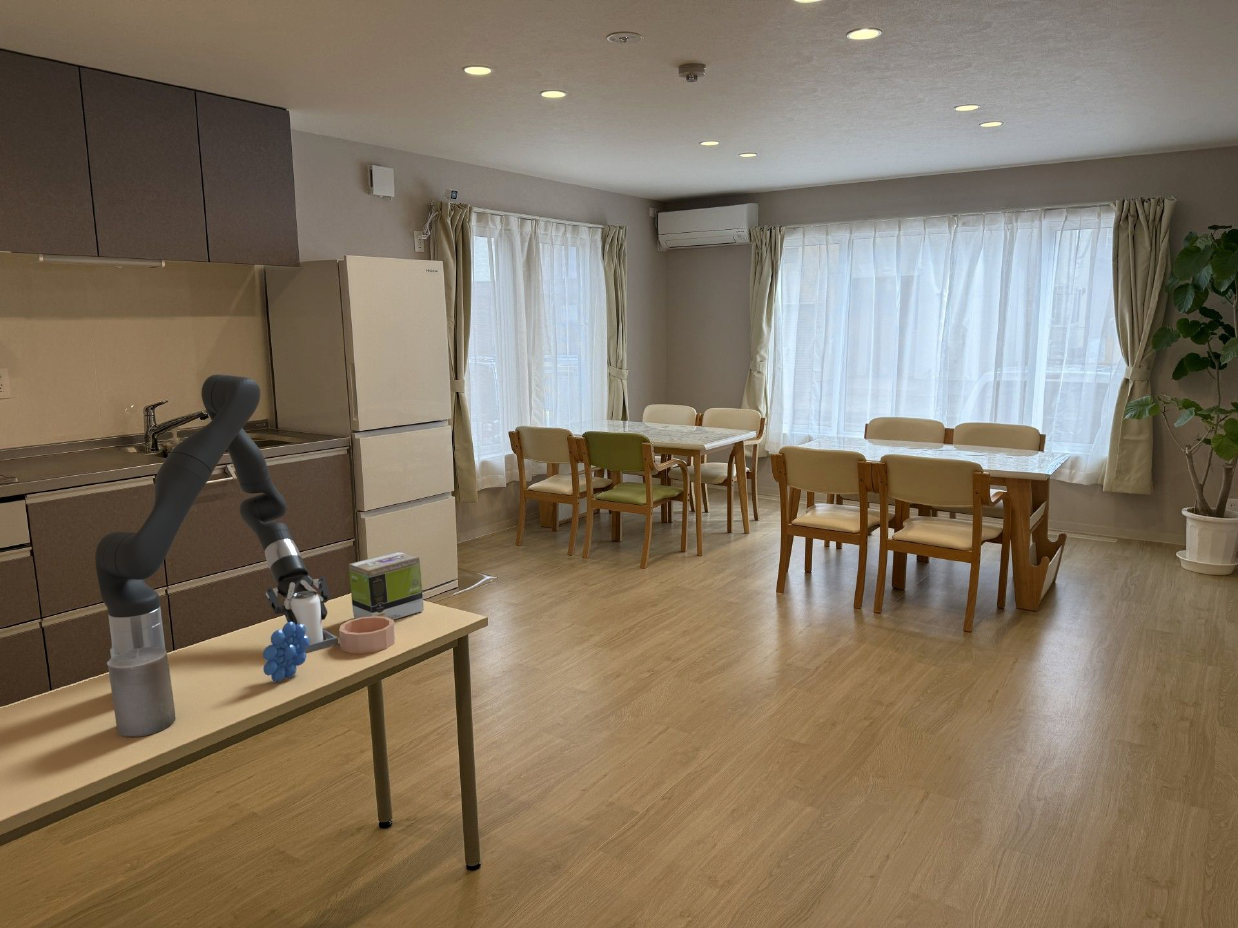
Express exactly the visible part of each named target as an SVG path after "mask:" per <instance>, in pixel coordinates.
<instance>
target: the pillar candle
mask: <svg viewBox="0 0 1238 928" xmlns="http://www.w3.org/2000/svg"><path fill="white" fill-rule="evenodd" d="M106 665H107V667H108V676H109V683H110V690H111V697H112V704H113V705H112V706H113V710H114V718H115V724H116V731H117V734H118V736H121V737H124V738H125V737H126V738H127V737H128V738H129V737H136V738H137V737H140V738H141V737H147V736H149V735H150V736H151V735H153V734H156V733H159V732H162V731H164V730H166V729H167V728H169V727H170V726H172V724H173V723H175V721H176V711H175V703H174V693H173V687H172V679H171V674H170V673H171V672H170V665H169V658H168V652H167V649H166V648H165V649H164V648H161V647H144V648H137V649H133V650H129V651H126V652H123V653H120V654H118V655H116V656H114V657H113V658H111V657H110V659H109V660H108V661H107V662H106Z"/></svg>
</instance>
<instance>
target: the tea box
mask: <svg viewBox="0 0 1238 928" xmlns="http://www.w3.org/2000/svg"><path fill="white" fill-rule="evenodd" d="M420 561H421V560H420V557H419V556H414V555H412V554H411V555H410V554H408V553H404V552H401V551H395V552H392V553H388V554H383V555H380V556H377V557H372V558H368V559H364V560H360V561H356V562H355V561H354V562H352V563H349V564H348V574H349V583H350V584H349V585H350V594H351V596H350V597H351V604H352V605H351V606H352V607H351V608H352V614H353V619H357V618H361V617H370V616H381V617H388V618H390V619H392V620H394V621H395V620H397V619H401V618H404V617H407V616H410V615H414V614H417V613H421V612H423V611H425V609H424V607H425V606H424V598H423V586H422V584H423V583H422V572H421V562H420Z"/></svg>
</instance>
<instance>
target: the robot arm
mask: <svg viewBox="0 0 1238 928" xmlns="http://www.w3.org/2000/svg"><path fill="white" fill-rule="evenodd" d="M200 394H201V399H202V401H201V402H202V404H203V406H204V409H205V411H206V412H207V414H208V416H209V418H210V420H211V421H210V422H208V423H207V424H206V425H205V426H203V427H202V428H200V429H199V430H197V431H195V432H194V433H192V434H190V435H189V436H188V437H186V438H185V439H183V440H181V441H180V442H179V443H177V445H175V447H173V448H172V449H171V451H170V452H169V454H168V455H167V457H166V458H165V460H164V462H163V463H162V465H161V466H160V467H159V469H158V471H157V474H156V477H155V480H154V501H153V502H154V503H153V507H152V509H151V512H150V513H149V515H148V516H147V518H146V520H145V521H144V523H143V524H142V526H141V527H140V528H139V529H138V530H137V532H132V531H129V532H128V531H113V532H110V533H107V534H106V535H105V536H103V537H102V538H101V539H100V541H99V542H98V544H97V547H96V549H95V555H94V563H95V570H96V571H95V572H96V577H97V581H98V587H99V591H100V597H101V599H102V601H103V602H102V603H104V605H105V606H106V609H107V615H108V622H109V623H108V624H109V631H110V638H111V648H110V650H109V652H110V659H111V658H113V657H114V656H116V655H118V654H120V653H123V652H126V651H129V650H133V649H137V648H144V647H161V648H164V649H165V650H166V644H165V637H164V636H165V635H164V626H163V620H162V610H161V608H162V607H161V599H160V595H159V593H158V592H157V591H156V590H155V589H153V588H151V587H150V586H149V585H148V584H147V583H146V582H145V580H146V579H148V578H150V577H152V576H153V575H155V573H156V572H158V570H159V569H160V568H161V566H162V564H163V563H164V561H165V559H166V557H167V555H168V552H169V551H170V549H171V547H172V544H173V542H174V540H175V538H176V536H177V533H178V531H179V530H180V527H181V525H182V524H183V523H184V520H185V519H186V517H187V515H188V513H189V512H190V510H191V508H192V506H193V505H194V503H195V501H196V499H197V498H198V497H199V495H200V494H201V492H202V490H203V489H204V487H205V486H206V484H207V483H208V481H209V480H210V478H211V476H212V474H213V473H214V471H215V468H216V467H217V465H218V464H219V462H220V460H221V459H222V457H223V456H224V455H225V453H226V451H228V454H229V456H230V457H229V458H231V462H232V464H233V468H234V471H235V475H236V477H237V480H238V483H239V487H240V489H241V491H242V492H244V493H246V494H258V495H255V496H252V497H248V498H246V499H244V500H242V501H241V503H240V505H239V514H240V517H241V518H242V520H243V521H244V522H245V524H246V525H248V527H249V528H250V529H251V530H252V531H253V533H254V534H255V535H256V537H257V538H258V540H259V542H260V545H261V548H262V550H263V552H264V554H265V559H266V563H267V567H268V569H269V570H270V573H271V574H272V575H271V576H272V577H273V581H274V583H275V585H276V587H274V588H272V587H268V588H267V590H266V591H265V595H264V596H265V598H266V600H267V602H268V603H269V605H270V607H271V609H272V611H273V613H274V614H275V615H279V614H282V615H284V617H285V619H286V623H287V622H291V621H292V622H294V623H295V625H297V620H296V617H295V615H294V613H293V611H292V609H291V600H292V595H293V594H295V593H298V592H303V591H315V592H317V595H318V597H319V599H320V607H321V619H322V621H324V620H325V619H326V617H327V616H328V609H327V607H326V605H325V603H327V602H328V600H329V598H330V596H331V595H330V592H329V589H328V588H329V587H328V585H327V581H326V578H325V577H324V575H323V576H320V577H319V578H315V579H314V578H312V577H311V576H310V575H309V572H308V569H307V567H306V564H305V562H304V560H303V557H302V555H301V553H300V551H299V550H300V549H299V548H298V546H297V545H296V543H295V542H294V539H293V536H292V534H291V532H290V529H289V528H288V525H286V524H285V523H284V522H279V521H277V522H276V521H275V520H278V519H280V518H283V517H284V516H285V515H286V513H287V509H288V506H287V503H286V500H285V498H284V497H283V495H282V494H281V493H280V491H279V490H278V489H277V487H276V486H275V484H274V483H273V480H272V478H271V475H270V472H269V469H268V466H267V465H268V464H267V462H266V459H265V456H264V455H263V453H262V450H260V448H259V447H258V445H257V444H256V443H255V442H254V441H253V439H252V437H250V436H249V435H248V433H247V432H246V431H245V429H244V427H245V425H246V424H247V422H248V421H249V420H250V419H251V417H252V416H253V415H254V413H255V411H256V410H257V408H258V406H259V403H260V400H261V388H260V385H259V383H258V382H257V381H255V379H252V378H250V377H245V376H237V375H228V374H211V375H210V376H208V377H207V378H206V379H205V380H204V382H203V384H202V387H201V393H200ZM271 521H275V522H271ZM313 586H315V587H316V589H318V591H319V592H318V591H317V590H316V589H315V588H313ZM318 593H319V594H318ZM278 594H279V595H281V596H282V597H283V598H285V599H284V602H283V603H284V604H283V605H282V604H281V602H280V600H279V598H278ZM300 594H302V593H300Z"/></svg>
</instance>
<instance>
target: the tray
mask: <svg viewBox="0 0 1238 928" xmlns="http://www.w3.org/2000/svg"><path fill="white" fill-rule="evenodd" d="M322 631H323V638H324V639H323V641H320V642H316V643H313V644H309V646H308V647H307V648H306V649H305V650H302V651H304V652H305V653H306V654H307V653H309V652H313V651H317V650H321V649H324V648H327V647H332V646H334V645H339V637H338V636H336V635H335V634H332V633H331V632H329V631H328V630H326V629H324V628H323V627H322Z"/></svg>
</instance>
